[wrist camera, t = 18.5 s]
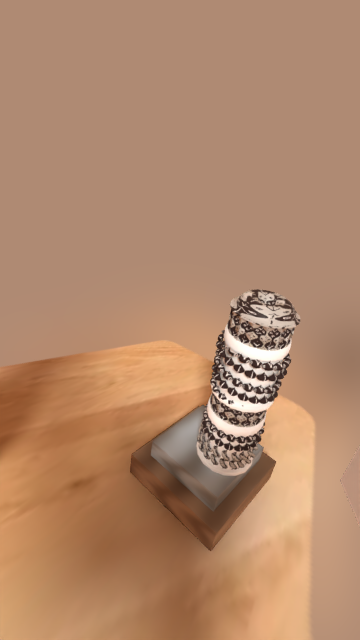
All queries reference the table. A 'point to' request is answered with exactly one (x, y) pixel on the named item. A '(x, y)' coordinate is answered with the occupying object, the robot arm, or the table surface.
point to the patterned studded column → (245, 379)
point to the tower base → (190, 502)
